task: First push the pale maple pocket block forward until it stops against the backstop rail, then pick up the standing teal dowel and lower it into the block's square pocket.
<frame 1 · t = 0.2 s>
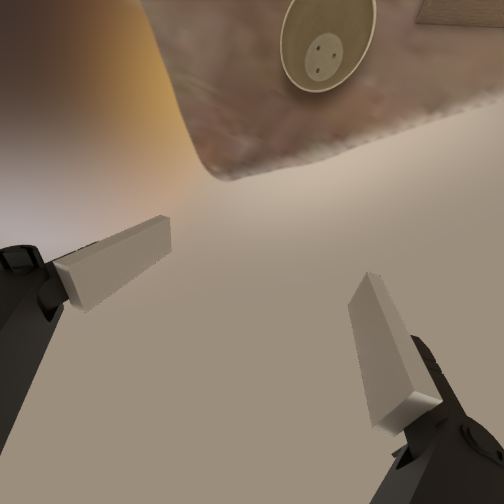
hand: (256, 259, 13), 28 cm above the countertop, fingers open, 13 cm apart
backstop rail: (487, 13, 22), on the countertop
flower pot: (322, 60, 28), on the countertop
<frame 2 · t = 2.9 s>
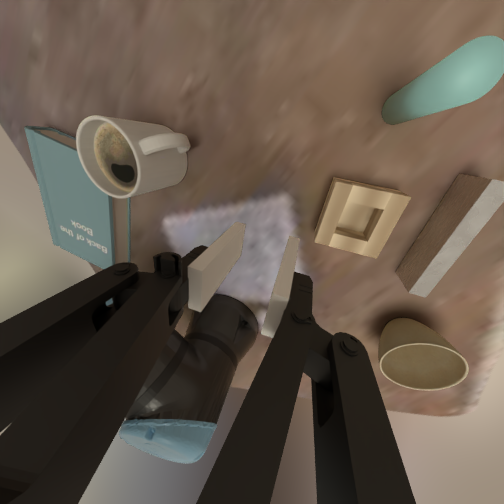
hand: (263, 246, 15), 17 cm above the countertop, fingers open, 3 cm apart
backstop rail: (431, 231, 26), on the countertop
book: (99, 203, 41), on the countertop
flower pot: (401, 327, 34), on the countertop
dowel: (397, 108, 21), on the countertop
mug: (169, 157, 31), on the countertop
block: (354, 217, 26), point 2 cm above the countertop, slide at 0.0 cm
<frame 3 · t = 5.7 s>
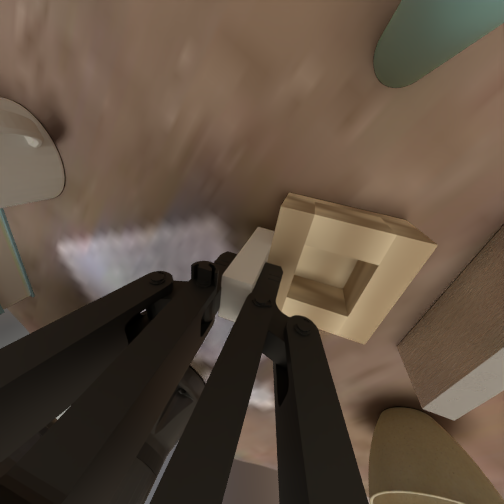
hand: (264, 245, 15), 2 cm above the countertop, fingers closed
backstop rail: (463, 292, 14), on the countertop
flower pot: (405, 418, 22), on the countertop
dowel: (408, 49, 10), on the countertop
mug: (38, 154, 20), on the countertop
block: (326, 266, 14), point 2 cm above the countertop, slide at 0.1 cm, touching gripper
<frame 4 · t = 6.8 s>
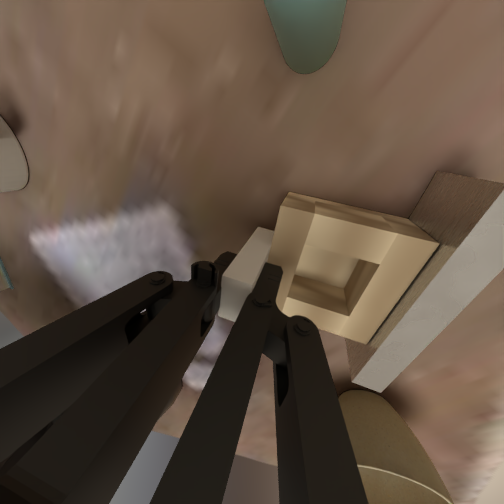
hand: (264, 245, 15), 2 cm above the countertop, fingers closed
backstop rail: (393, 271, 15), on the countertop
flower pot: (362, 401, 23), on the countertop
dowel: (309, 37, 10), on the countertop
mug: (2, 146, 20), on the countertop
block: (326, 266, 14), point 2 cm above the countertop, slide at 4.9 cm, touching gripper
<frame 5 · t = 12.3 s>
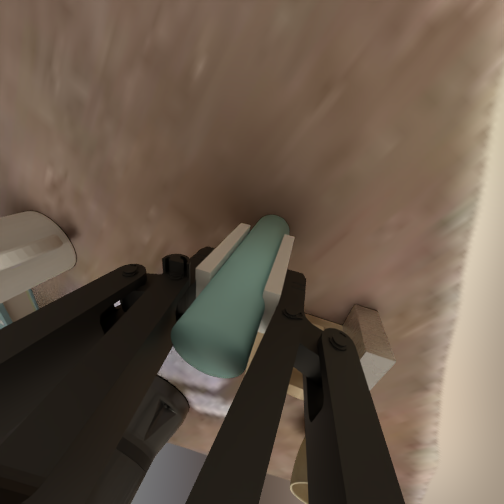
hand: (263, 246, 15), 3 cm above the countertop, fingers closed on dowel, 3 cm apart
backstop rail: (337, 352, 22), on the countertop
flower pot: (329, 430, 30), on the countertop
dowel: (272, 231, 17), on the countertop, touching gripper
mug: (57, 242, 27), on the countertop
block: (291, 352, 21), point 2 cm above the countertop, slide at 5.0 cm
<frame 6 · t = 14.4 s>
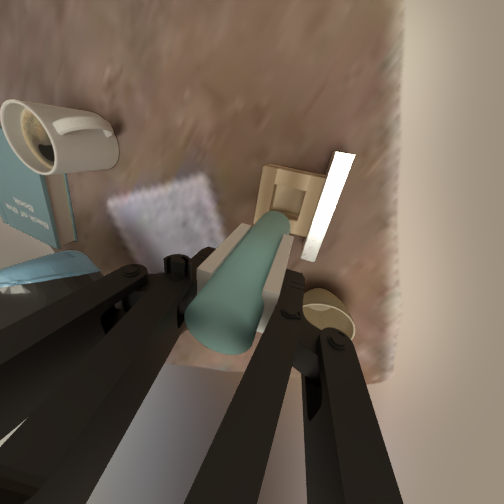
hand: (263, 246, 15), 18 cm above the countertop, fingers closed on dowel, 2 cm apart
backstop rail: (322, 204, 29), on the countertop
book: (43, 184, 44), on the countertop
flower pot: (319, 298, 37), on the countertop
dowel: (274, 226, 18), point 14 cm above the countertop, touching gripper
mug: (103, 142, 35), on the countertop
block: (287, 199, 28), point 2 cm above the countertop, slide at 5.0 cm
when the fingers open (5 cm above the countertop, at t = 16.8 s): dowel stays where it is, resting on block.
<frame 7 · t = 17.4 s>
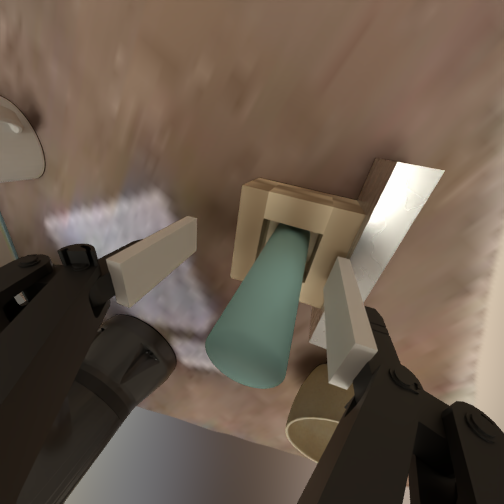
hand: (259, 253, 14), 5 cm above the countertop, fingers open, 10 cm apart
backstop rail: (349, 248, 17), on the countertop
flower pot: (335, 375, 25), on the countertop
dowel: (292, 235, 17), point 1 cm above the countertop, touching block
mug: (23, 140, 24), on the countertop
block: (289, 241, 16), point 2 cm above the countertop, slide at 5.0 cm, touching dowel
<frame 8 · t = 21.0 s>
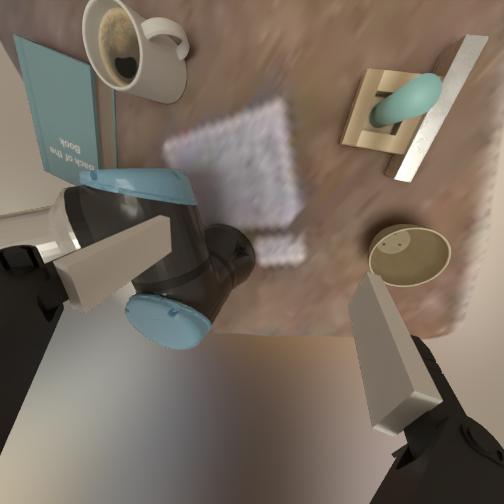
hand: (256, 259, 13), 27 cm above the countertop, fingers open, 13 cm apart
backstop rail: (416, 123, 27), on the countertop
book: (87, 128, 43), on the countertop
flower pot: (391, 239, 35), on the countertop
dowel: (381, 115, 27), point 1 cm above the countertop, touching block
mug: (170, 71, 33), on the countertop
block: (382, 115, 27), point 2 cm above the countertop, slide at 5.0 cm, touching dowel
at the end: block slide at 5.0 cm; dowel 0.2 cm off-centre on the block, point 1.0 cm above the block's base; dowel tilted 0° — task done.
